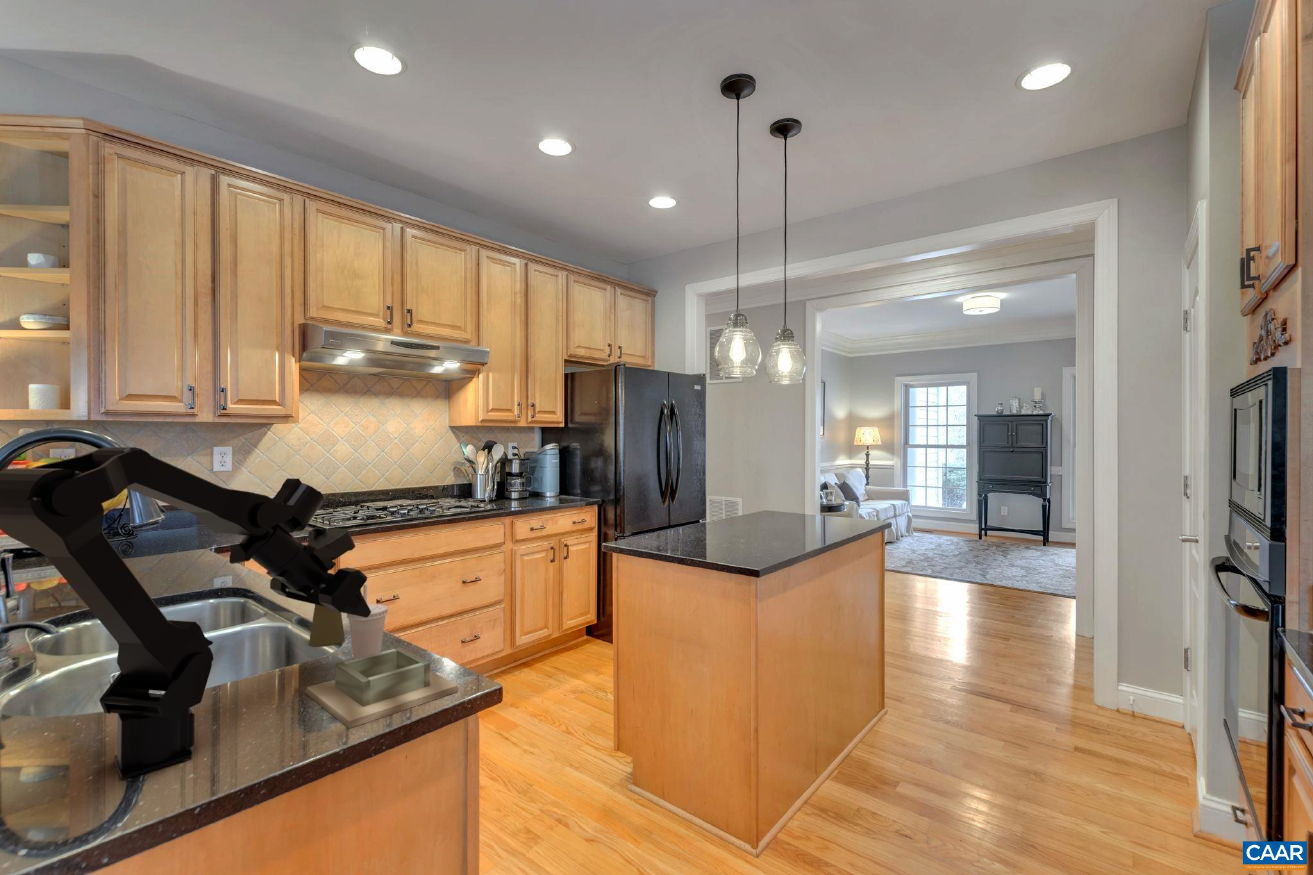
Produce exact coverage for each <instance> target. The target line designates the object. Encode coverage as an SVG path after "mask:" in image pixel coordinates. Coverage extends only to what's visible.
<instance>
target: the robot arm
mask: <svg viewBox="0 0 1313 875" xmlns="http://www.w3.org/2000/svg"><path fill="white" fill-rule="evenodd" d="M126 489H127V490H130V491H133V492H136V493H138V494H140V495H143V496H146V497H148V498H150V499H153V500H155V501H159V502H161V503H164V504H166V505H170V506H172V507H175V508H177V509H180V510H182V511H185V512H188V513H190V514H191V515H194V516H195V517H196V518H197V520H198V522H199V524H201V525H202V526H204V527H205V528H206V529H209V530H210V531H212V532H214V533H215V534H217V535H223V536H224V535H225V536H244V537H243V538H242V539H241V540H240V541H239V543H233V544H230V545H229V550H230V554H229V559H228V560H229V564H231V565H234V564H238V563H245V562H246V563H247V562H250V561H251V560H253V561H254V562H255V563H257V564H258V565H259V566H260V567H262V569H263V568H264V569H265V570H266V571H267V572H266V573H265V574H266V575H268V576H269V577H270V578H271V579H270V582H269V588H270V590H272V591H273V592H274V593H275V594H277V595H279V596H282V597H285V598H288V599H291V600H293V601H294V600H295V601H299V602H303V603H309V604H313V605H315V604H316V605H320V606H325V607H327V608H329V609H330V610H333V611H337V612H341V614H346V615H347V614H351V615H356V616H361V617H366V618H367V617H368V616H369V615H370V614H371V610H370V608H369V607H368V605H369V604H368V602H367V603H366V601H365V599H364V597H363V594H362V587H363V585H364V584H366V582H367V580H368V576H367V575H366V574H364V572H362V571H361V570H360V569H357V568H351V567H343V568H338V569H337V571H336V572H335V573H331V572H329V571H332V570H333V569H334V567H335V566H336V565H337V563H336V562H335V560H337V559H338V558H339V557H342V556H343V555H345V553H347V552H350V551H352V550H354V549H355V548H356V545H355V541H354V540H353V538H352V535H351V534H350V531H349V530H348V529H346V528H339V527H336V528H335V527H334V528H328V529H327V530H325V529H324V528H322V527H317V526H316V527H314V528H312V529H311V530H309V531H308V532H307V544H303V543H302V542H300V541H299V540H298V539H297V538H296V537H295V536H294V535H292V533H294V532H302V531H304V530H305V529H306V527H307V526H308V524H309V523H310V521H311V520H312V519H313V518H314V516H315V515H316V513H317V511H319V509H320V507H321V506H322V504H324V500H325V499H324V495H323V493H322V492H321V491H319V490H318V489H316V488H314V486H311V485H309V484H307V483H304V482H302V481H301V480H300V478H286V479H285V481H284V482H283V483H282V485H281V487H280V489H279V490H278V491H277V492H276V494H275V495H274V496H273V498H271V497H270V496H269V495H265V494H260V493H257V492H252V491H244V490H239V489H233V488H228V487H227V488H226V487H222V486H220V485H218V484H216V483H214V482H211V481H209V480H207V479H204V478H203V477H200V476H198V475H195V474H193V473H192V472H189V471H187V470H184V469H182V468H180V467H177V466H176V465H173V464H172V463H171V464H170V463H168V462H166V461H164V460H162V459H160V458H158V457H155V456H153V455H151V454H150V452H148V451H146V450H144V449H142V448H139V447H136V446H133V447H132V446H125V447H124V446H107V447H106V446H103V447H101V448H99V449H96V450H93V451H91V452H87V453H84V454H81V455H78V456H73V457H70V458H64V459H61V460H57V461H53V462H48V463H44V464H41V465H40V464H39V465H36V466H34V467H31V468H26V467H14V468H13V467H12V468H6V469H2V470H0V531H1V532H3V534H5V535H7V536H8V537H10V538H11V539H14V540H16V541H17V542H20V543H22V544H24V545H25V546H27V547H29V548H31V549H33V550H35V551H38V552H39V553H41V554H42V555H44V556H45V557H46V558H47V559H48V561H49V562H50V563H51V565H52V566H53V567H54V568H55V569H56V570H57V571H58V573H59V574H60V576H62V578H64V580H65V581H66V582H67V584H68V586H70V588H72V590H73V591H74V592H75V593H76V595H78V597H79V598H80V599H81V600H82V602H83V603H84V604H85V605H86V606H87V608H88V609H89V610H90V611H91V613H92V614H93V615H94V616H95V618H97V620H98V621H99V622H100V623H101V625H102V626H103V627H104V628H105V630H107V632H108V633H109V634H110V635H111V637H112V638H113V639H114V640H115V642H116V643H117V644H118V647H117V648H118V650H117V658H116V664H117V666H118V668H119V670H120V672H119V673H118V675H117V676H116V677H115V678H114V680H113V681H112V682H111V683H110V685H109V686H108V688H106V690H105V692H103V694H102V695H101V697H100V698H99V703H100V704H99V705H100V706H101V708H102V711H103V713H105V714H109V715H111V714H116V715H117V733H116V735H117V736H116V738H117V739H116V740H117V742H116V743H117V745H116V747H117V750H116V755H114V756H113V761H114V762H113V763H114V764H115V766H116V769H117V772H118V774H119V777H120V779H121V780H122V779H128V778H132V777H136V776H139V775H141V774H144V773H148V772H151V771H154V770H157V769H160V768H163V767H167V766H171V765H173V764H177V763H180V762H183V761H187V760H189V759H191V758H193V752H192V749H191V748H193V747H194V746H195V713H194V711H193V710H192V709H191V708H193V707H195V706H197V705H199V704H201V703H202V700H203V696H204V694H205V689H206V687H207V684H208V681H209V677H210V673H211V670H212V666H213V661H214V653H213V651H212V648H211V647H210V646H212V645H213V644H214V641H212V640H210V639H208V637H206V636H205V633H204V631H203V630H202V627H201V626H200V624H198V623H197V621H189V620H188V621H187V620H186V621H185V620H173V619H168V618H166V616H165V614H164V613H163V612H162V611H161V609H160V608H159V607H158V605H157V604H156V602H155V601H154V600H153V599H152V597H151V595H149V593H148V591H146V589H145V588H144V586H143V585H142V584H141V583H140V581H139V579H138V578H137V577H136V575H135V574H134V573H133V571H132V570H131V569H130V567H129V566H128V564H126V562H125V561H124V559H123V558H122V556H121V554H119V552H118V551H117V550H116V548H115V546H113V545H112V543H111V542H110V541H109V539H108V538H107V536H106V535H105V533H104V531H103V527H104V526H103V524H104V514H105V508H104V505H103V503H106V502H108V501H110V500H113V499H115V498H116V497H118V496H119V495H121V493H122V492H123V491H125V490H126ZM150 691H157V692H158V691H159V692H163V693H156V692H155V693H154V692H153V693H152V692H150Z"/></svg>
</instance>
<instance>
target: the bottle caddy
mask: <svg viewBox="0 0 1313 875" xmlns="http://www.w3.org/2000/svg"><path fill="white" fill-rule="evenodd" d="M334 678H335V679H332V680H329V681H325V682H321V683H318V684H313V685H310V686H307V687H306V695H307V696H308V697H309V698H311V699H312V700H314V701H315V703H317V704H318V705H319V706H321V707H322V708H323V709H325V710H326V711H327V712H328V713H329V714H331V715H332V716H333V717H334V718H335V719H337V720H338V721H339V722H341V723H342V724H343V725H344V726H346V728H348V729H352V728H355V727H358V726H361V725H363V724H367V723H370V722H372V721H376V720H378V719H382V718H384V717H387V716H390V715H393V714H396V713H399V712H402V711H405V710H408V709H411V708H415V707H416V706H420V705H422V704H426V703H429V702H431V701H434V700H438V699H440V698H443V697H446V696H449V695H453V694H455V693H458V692H459V684H457V683H455V682H453V681H452V680H451V681H450V680H449V679H448V678H445V677H443V676H442V675H440V674H438V673H436V672H434V671H432V670H431V662H429V661H427V660H425V659H424V658H421V657H420V656H418V655H416V654H414V653H412V652H410V651H408V650H406V649H404V648H402V647H397V648H393V649H389V650H385V651H381V652H380V653H376V654H372V655H368V656H365V657H361V658H357V659H354V658H353V659H349V660H345V661H341V662H339V663H338V662H337V663H335V677H334Z"/></svg>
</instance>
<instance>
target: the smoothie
mask: <svg viewBox="0 0 1313 875" xmlns="http://www.w3.org/2000/svg"><path fill="white" fill-rule="evenodd" d="M362 587H363V589H362V592H363V594H362V595H363V597H364V599H365V601H366V603H367V605H368V607H369V608H370V610H371V614H370V615H369V616H368V617H367V618H366V617H361V616H356V615H351V614H347V613H346V619H348V623H349V624H348V625H349V630H350V638H351V647H352V655H353V659H357V658H361V657H365V656H368V655H372V654H376V653H380V652H382V651H381V650H382V643H383V636H384V631H385V630H384V629H385V623H386V616H387V615H388V614H389V613H388V610H389V609H388V606H387V605H385V604H380V603H371V604H368V584H367V583H364V585H363V586H362Z"/></svg>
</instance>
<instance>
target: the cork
mask: <svg viewBox="0 0 1313 875" xmlns="http://www.w3.org/2000/svg"><path fill="white" fill-rule="evenodd" d="M310 627H311V628H310V634H309V640H308V645H309V646H311V647H314V648H315V647H317V648H318V647H319V648H320V647H331V646H335V645H339V644H341V643H343V642H344V641H345V639H346V638H345V631H344V623H343V616H342V612H337V611H333V610H330V609H329V608H327V607H325V606H320V605H316V604H314V608H313V616H312V621H311V626H310Z"/></svg>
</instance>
